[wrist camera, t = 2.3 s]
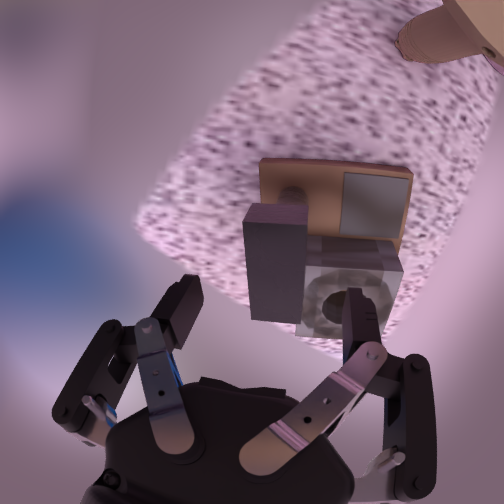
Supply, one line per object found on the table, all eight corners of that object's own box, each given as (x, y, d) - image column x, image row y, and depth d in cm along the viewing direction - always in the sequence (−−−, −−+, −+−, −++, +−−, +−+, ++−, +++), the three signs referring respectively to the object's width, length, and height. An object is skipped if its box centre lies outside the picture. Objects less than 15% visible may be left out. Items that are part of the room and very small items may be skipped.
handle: (386, 11, 14) (455, -55, 2) (445, 48, 14) (552, 36, 2) (370, 48, 17) (438, 2, 4) (430, 85, 17) (539, 99, 5)
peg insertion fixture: (262, 158, 25) (245, 180, 19) (407, 167, 22) (433, 194, 16) (268, 289, 34) (256, 331, 28) (380, 296, 31) (387, 340, 25)
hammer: (274, 163, 23) (242, 221, 14) (311, 164, 22) (307, 225, 13) (276, 233, 27) (251, 319, 17) (309, 235, 26) (300, 324, 17)
